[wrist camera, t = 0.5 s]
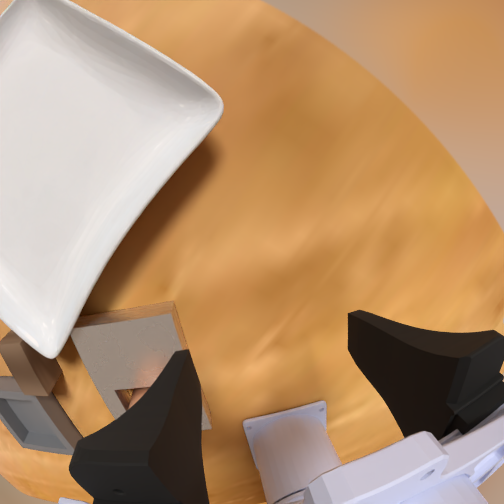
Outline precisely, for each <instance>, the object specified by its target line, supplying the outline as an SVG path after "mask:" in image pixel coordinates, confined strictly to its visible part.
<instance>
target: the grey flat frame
mask: <svg viewBox="0 0 504 504" xmlns="http://www.w3.org/2000/svg"><path fill="white" fill-rule="evenodd" d="M70 335H71V337H72V340H73V342H74V344H75V346H76V348H77V351H78V353H79V355H80V357H81V359H82V361H83V363H84V365H85V367H86V369H87V371H88V373H89V375H90V377H91V379H92V380H93V382H94V384H95V386H96V388H97V390H98V391H99V393H100V395H101V397H102V398H103V400H104V402H105V404H106V405H107V407H108V409H109V410H110V412H111V413H112V415H113V417H114V418H115V420H116V419H117V418H118V417H120V416H121V415H122V414H123V413H125V412H126V411H127V410H128V408H129V404H130V400H131V397H130V395H129V393H128V391H127V389H133V388H143V387H151V385H152V384H153V383H154V381H155V380H156V379H157V377H158V376H159V375H160V373H161V372H162V370H163V369H164V367H165V366H166V364H167V363H168V361H169V360H170V358H171V357H172V355H173V354H174V352H175V351H180V350H186V349H188V346H187V343H186V340H185V337H184V334H183V330H182V327H181V324H180V321H179V317H178V314H177V310H176V307H175V303H174V301H169V302H163V303H158V304H152V305H146V306H141V307H135V308H129V309H123V310H117V311H111V312H105V313H98V314H92V315H86V316H79V317H78V319H77V321H76V323H75V325H74V326H73V329H72V331H71V333H70ZM201 394H202V430H207V429H212V421H211V412H210V409H209V407H208V404H207V401H206V399H205V396H204V393H203V391H202V388H201Z"/></svg>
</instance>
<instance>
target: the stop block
mask: <svg viewBox="0 0 504 504" xmlns="http://www.w3.org/2000/svg"><path fill="white" fill-rule="evenodd" d="M0 353H1V355H2V357H3V359H4V361H5V363H6V364H7V366H8V368H9V370H10V372H11V373H12V375H13V377H14V379H15V380H16V382H17V384H18V385H19V387H20V389H21V390H22V392H23V393H24V395H32V396H49V394H50V393H51V391H52V389H53V387H54V385H55V384H56V382H57V380H58V378H59V377H60V375H61V373H62V370H61V368H60V366H59V364H58V362H57V360H56V358H54V359H49V358H47V357H45V356H43V355H42V354H40V353H39V352H38V351H36V350H35V349H34V348H32V347H31V346H30V345H29V344H28V343H26V342H25V341H24V340H23V339H22V338H21V337H19V336H18V335H17V334H16V333H15V332H14V331H13V330H11V331H10V332H9V333H8V334H7V335H6V336H5V337H4V338H3V339H2V340H1V341H0Z"/></svg>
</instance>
